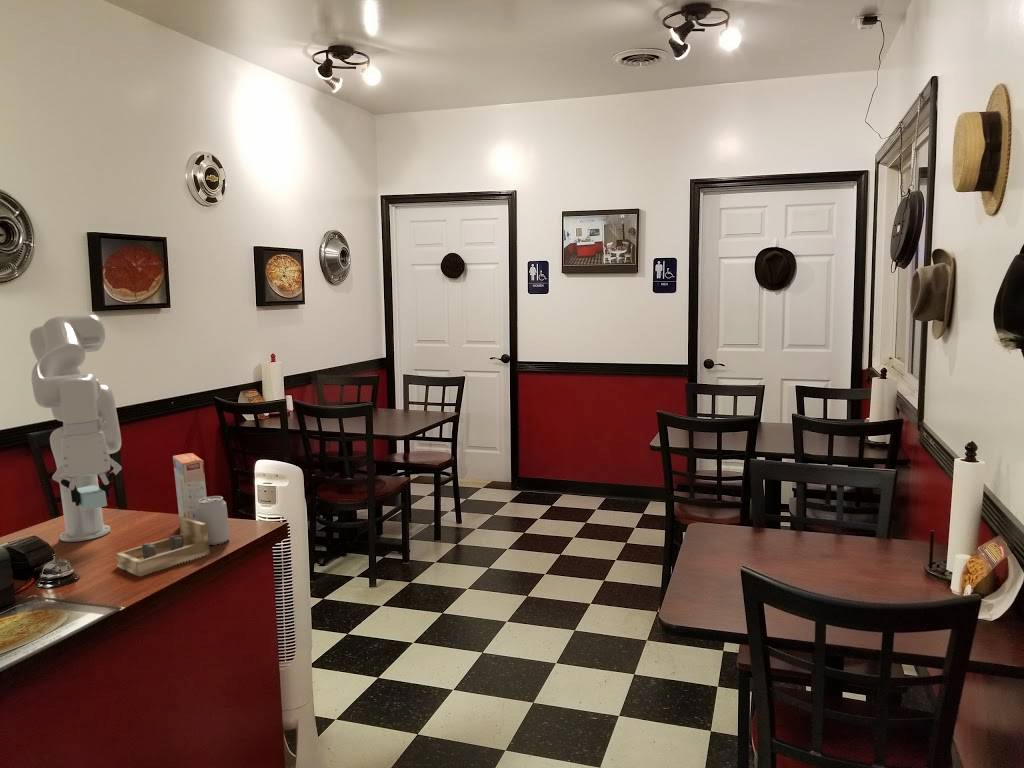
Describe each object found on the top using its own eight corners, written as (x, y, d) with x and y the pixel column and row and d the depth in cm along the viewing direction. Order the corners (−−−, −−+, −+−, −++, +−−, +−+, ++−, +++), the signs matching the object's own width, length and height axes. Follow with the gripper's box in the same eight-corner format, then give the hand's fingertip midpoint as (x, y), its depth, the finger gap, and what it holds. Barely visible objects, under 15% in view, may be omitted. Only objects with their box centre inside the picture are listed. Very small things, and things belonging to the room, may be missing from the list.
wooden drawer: (117, 567, 196) (113, 535, 195) (186, 545, 210) (183, 516, 209) (139, 576, 189) (135, 544, 188) (209, 554, 202) (206, 523, 201)
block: (76, 502, 194) (74, 488, 194) (96, 498, 197) (94, 484, 197) (86, 510, 187) (84, 495, 186) (107, 505, 190) (105, 491, 189)
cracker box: (211, 533, 220) (203, 459, 217) (189, 537, 217) (180, 463, 214) (201, 521, 232) (193, 451, 229) (179, 526, 229) (171, 455, 226)
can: (220, 547, 208) (215, 502, 206) (194, 546, 209) (189, 502, 207) (235, 537, 215) (231, 494, 213) (210, 537, 216) (205, 494, 215)
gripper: (120, 422, 197) (129, 493, 199) (41, 431, 189) (51, 505, 191) (122, 426, 190) (131, 499, 193) (39, 436, 182) (50, 512, 185)
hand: (91, 501), depth 192 cm, fingers closed on block, 5 cm apart
